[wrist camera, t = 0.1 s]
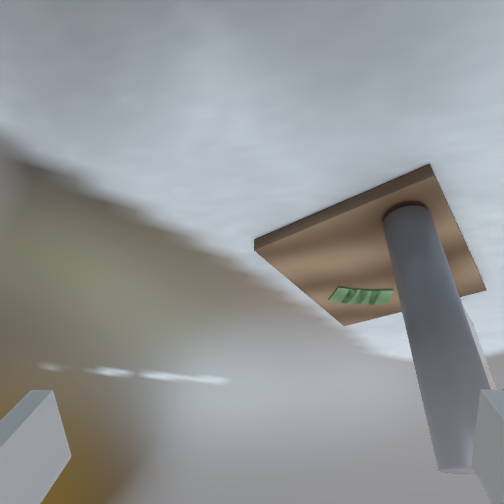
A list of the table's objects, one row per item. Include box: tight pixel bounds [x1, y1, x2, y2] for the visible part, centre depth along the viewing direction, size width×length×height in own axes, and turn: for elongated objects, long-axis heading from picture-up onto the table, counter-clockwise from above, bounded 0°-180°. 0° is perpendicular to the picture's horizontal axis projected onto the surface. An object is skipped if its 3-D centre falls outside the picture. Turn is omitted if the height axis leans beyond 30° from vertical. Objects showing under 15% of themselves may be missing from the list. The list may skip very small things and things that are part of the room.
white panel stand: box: [383, 206, 496, 474], centre depth 24 cm, size 16×3×14 cm, turn 37°
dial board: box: [254, 164, 486, 326], centre depth 30 cm, size 16×13×1 cm
